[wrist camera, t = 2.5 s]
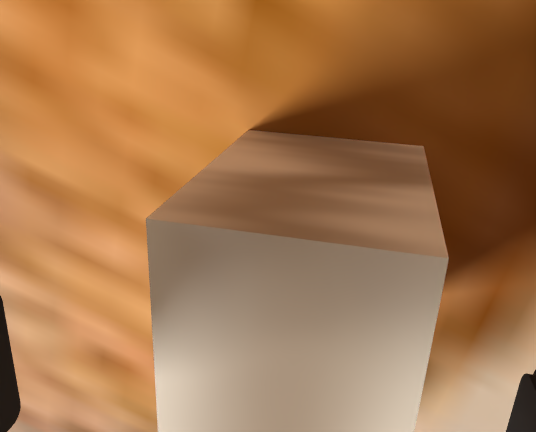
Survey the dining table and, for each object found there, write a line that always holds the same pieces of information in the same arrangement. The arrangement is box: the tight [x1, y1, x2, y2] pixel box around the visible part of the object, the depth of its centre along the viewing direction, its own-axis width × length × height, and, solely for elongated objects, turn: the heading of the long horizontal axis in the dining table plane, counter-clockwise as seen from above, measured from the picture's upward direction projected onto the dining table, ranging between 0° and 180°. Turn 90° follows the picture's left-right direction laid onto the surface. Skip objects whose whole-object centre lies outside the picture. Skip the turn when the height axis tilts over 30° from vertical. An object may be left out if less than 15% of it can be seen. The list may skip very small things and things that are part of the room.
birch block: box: [146, 130, 449, 432], centre depth 12 cm, size 5×5×7 cm
